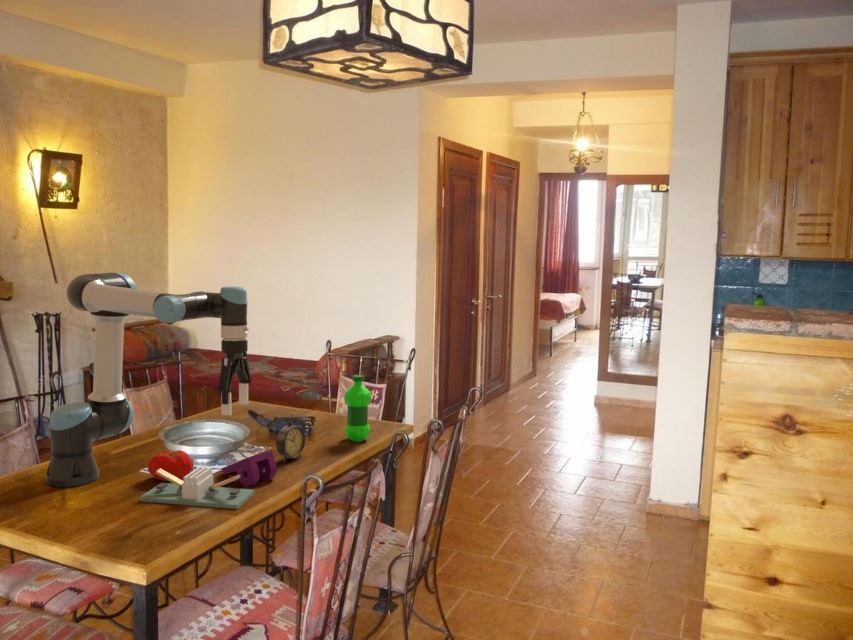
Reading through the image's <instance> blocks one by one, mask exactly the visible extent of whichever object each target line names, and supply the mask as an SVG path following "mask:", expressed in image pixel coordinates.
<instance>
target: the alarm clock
mask: <svg viewBox="0 0 853 640" xmlns="http://www.w3.org/2000/svg"><path fill="white" fill-rule="evenodd" d="M289 416H291V421H288V419H289ZM293 421H294V416H293V414H292V413H290V414H288V415H287V416H286V423H287V424H288V425H285V426H284V427H282V428H281V429H280V430H279V432H278V434H277V436H276V440H275V443H276V444H275V445H276V446H275V447H276V450H277V452H278V454H279V455H280V456H281V457H284V459H283V463H284V464H286V460H287V459H288V458H291V459H295V458H297V457H302V455H301V454H302V452H303V450H304V447H305V444H306V437H305V436H306V435H305V433H304V430H303V429H302V428H301V427H300V426H298V425H296V426H295V425H292V422H293Z"/></svg>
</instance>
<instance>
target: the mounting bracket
mask: <svg viewBox="0 0 853 640" xmlns="http://www.w3.org/2000/svg"><path fill="white" fill-rule="evenodd" d="M277 471H278V469H277V463H276V461H275V457H274V453H273V451H272V450H269V451H265V452H262V453H258V454H255V455H252V456H248V457H245V458H244V459H241V460H238V461H237V462H234V463H231V464H229V465H227V466H224V467H221V472H222V475H223V476H225V475H228V474H232V473H235V472H236V476H237V475H239V474H240V476H241V477H240V478H239V479H238V481H239V483H240V484H241V485H242V486H246V487H250V486H253V485H256V484H258V483H259V481H260V480H261V481H265V482H266V481H270V480H273V479H274V478H275V477H276V475H277Z"/></svg>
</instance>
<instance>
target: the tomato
mask: <svg viewBox="0 0 853 640" xmlns="http://www.w3.org/2000/svg"><path fill="white" fill-rule="evenodd" d="M194 465H195V464H194V461H193V459H192V458H191V456H190V455H189V454H188V453H187V452H186V451H184V450H180V449H179V450H173V451H172V450H170V449H167V450H165V451H164V452H158V453H156V454H155V455H154V456H152V458H151V459H149V461H148V465H147V470H148V472H149V474H150V475H151V476H153V477H154V478H156V479H157V480H159V481H162V482H164V481H165V482H170V481H169V480H167V479H165V478H163V477H161V476H160V475H158V474H156V471H157V470H159V469H160V468H161V469H162V470H164V471H166V472H168V473H170V474H171V475H173V476H175V477H177V478H179V479H180V480H182V479H183V477H185V476H186V475H188V474H189V473H191V472H192V471H194V470H193V469H194Z"/></svg>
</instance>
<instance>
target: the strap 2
mask: <svg viewBox="0 0 853 640" xmlns="http://www.w3.org/2000/svg"><path fill="white" fill-rule="evenodd" d="M240 477H241V476H240V474H239V475H237V474H236V475H235V476H232V477H229V478H226V479H224V480H223V481H219V482H217V483H213V485H211V486H210V487H209V488H208V489H209V490H210V491H212V490H213V489H215V488H217V487H223V486H224V485H226V484H227V485H228V484H229V483H231V482H234V481H237V480H239V478H240Z"/></svg>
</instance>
